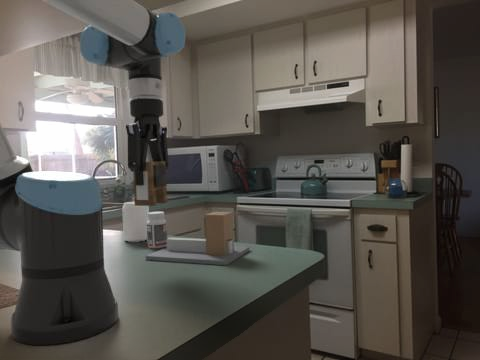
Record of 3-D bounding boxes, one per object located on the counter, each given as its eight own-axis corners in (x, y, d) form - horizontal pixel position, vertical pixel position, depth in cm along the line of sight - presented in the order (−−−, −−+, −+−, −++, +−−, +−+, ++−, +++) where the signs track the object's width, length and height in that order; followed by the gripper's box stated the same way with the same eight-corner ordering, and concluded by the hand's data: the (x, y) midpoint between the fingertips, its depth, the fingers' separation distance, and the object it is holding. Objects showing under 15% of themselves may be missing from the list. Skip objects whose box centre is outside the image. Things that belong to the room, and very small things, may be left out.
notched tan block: (155, 205, 94) (153, 161, 94) (134, 205, 96) (132, 162, 96) (169, 202, 100) (167, 161, 99) (149, 202, 102) (147, 161, 101)
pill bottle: (169, 244, 123) (168, 211, 123) (164, 248, 118) (163, 213, 117) (151, 244, 124) (149, 211, 124) (144, 248, 118) (143, 214, 118)
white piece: (121, 239, 134) (120, 202, 133) (147, 236, 137) (145, 200, 137) (126, 243, 126) (124, 204, 126) (152, 240, 130) (151, 202, 129)
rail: (226, 265, 97) (224, 218, 96) (145, 259, 105) (143, 216, 104) (249, 250, 112) (248, 209, 111) (177, 246, 120) (176, 208, 119)
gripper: (135, 92, 87) (141, 203, 88) (180, 102, 105) (184, 194, 106) (106, 95, 90) (111, 202, 91) (155, 104, 107) (159, 194, 108)
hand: (151, 198), depth 98 cm, fingers closed on notched tan block, 6 cm apart
